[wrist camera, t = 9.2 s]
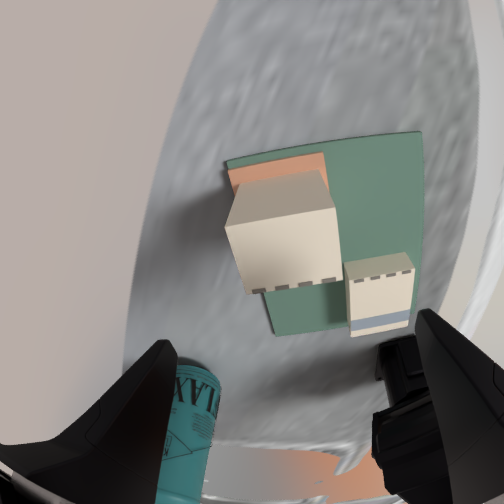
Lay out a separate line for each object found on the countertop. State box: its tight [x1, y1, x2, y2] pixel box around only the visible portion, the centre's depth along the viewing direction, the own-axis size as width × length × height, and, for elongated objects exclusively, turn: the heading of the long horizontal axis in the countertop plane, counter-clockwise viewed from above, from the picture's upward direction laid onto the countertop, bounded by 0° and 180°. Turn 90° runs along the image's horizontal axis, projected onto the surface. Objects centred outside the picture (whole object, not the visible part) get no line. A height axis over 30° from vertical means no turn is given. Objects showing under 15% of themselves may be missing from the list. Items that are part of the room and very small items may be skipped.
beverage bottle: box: [155, 365, 222, 504], centre depth 22 cm, size 6×7×20 cm
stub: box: [225, 169, 343, 294], centre depth 16 cm, size 4×5×6 cm
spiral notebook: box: [344, 252, 415, 337], centre depth 22 cm, size 6×5×2 cm
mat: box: [227, 131, 424, 337], centre depth 21 cm, size 16×13×1 cm
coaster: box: [228, 151, 329, 196], centre depth 19 cm, size 6×6×1 cm
